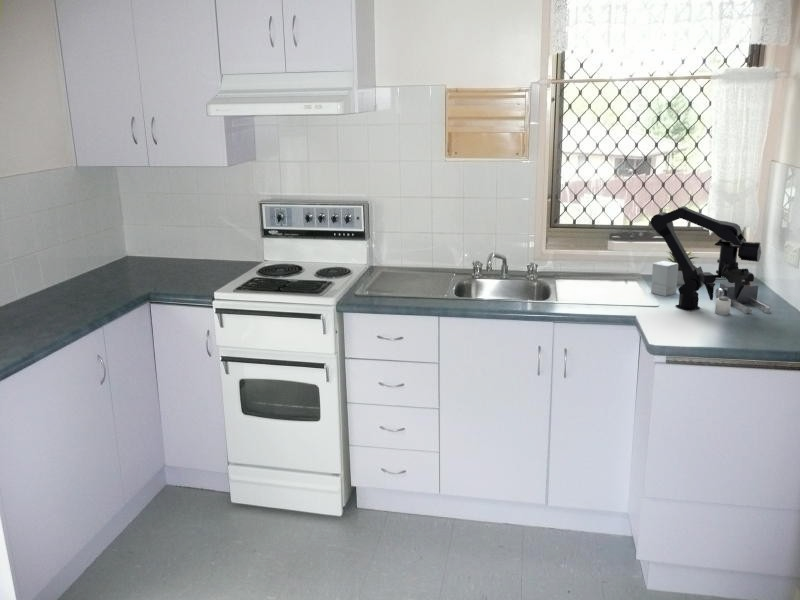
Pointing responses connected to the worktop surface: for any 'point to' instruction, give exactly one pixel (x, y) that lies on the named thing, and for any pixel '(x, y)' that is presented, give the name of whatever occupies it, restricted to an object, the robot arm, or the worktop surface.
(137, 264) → the worktop surface
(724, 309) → the bottle
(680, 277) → the house plant
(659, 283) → the supplement box
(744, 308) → the motor clip
